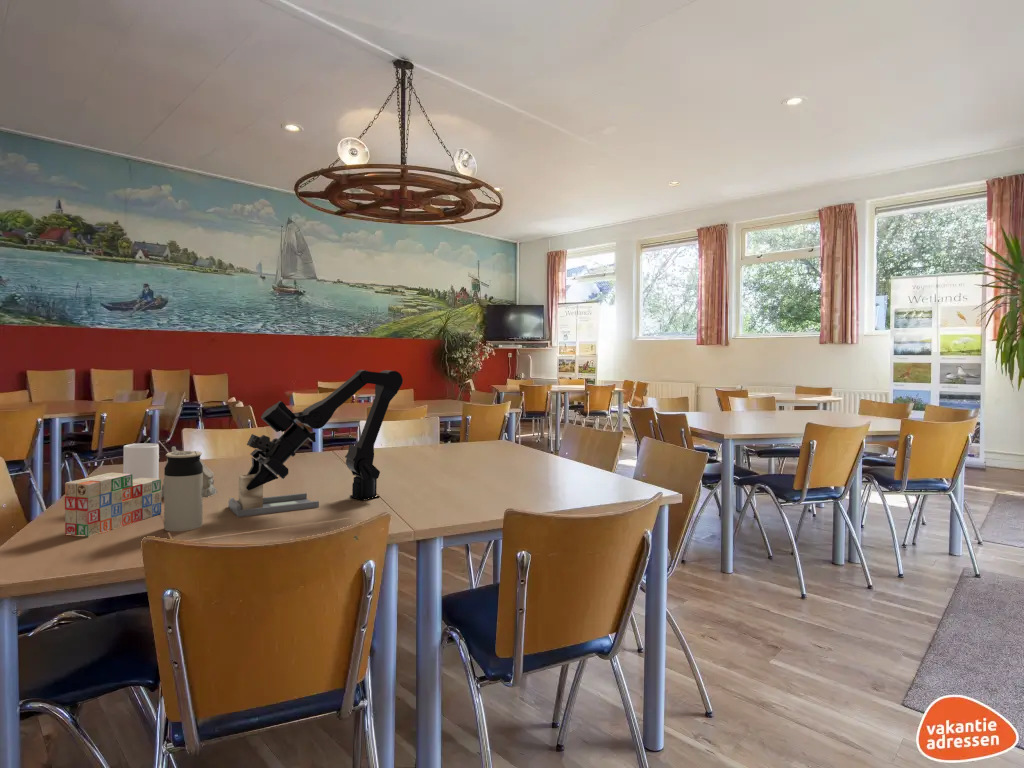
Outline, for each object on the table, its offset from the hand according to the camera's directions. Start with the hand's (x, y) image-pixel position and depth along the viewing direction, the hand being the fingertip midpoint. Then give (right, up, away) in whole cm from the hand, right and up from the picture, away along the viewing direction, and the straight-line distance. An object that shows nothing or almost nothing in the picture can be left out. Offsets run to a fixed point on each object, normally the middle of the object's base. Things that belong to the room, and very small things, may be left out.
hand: (245, 487), depth 156 cm
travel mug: (-8, -7, -16) cm, 19 cm away
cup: (-32, -6, +7) cm, 33 cm away
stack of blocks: (-25, -7, -14) cm, 29 cm away
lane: (+6, -7, +5) cm, 10 cm away
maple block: (+1, -6, +1) cm, 6 cm away
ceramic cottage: (-25, -5, +20) cm, 33 cm away
